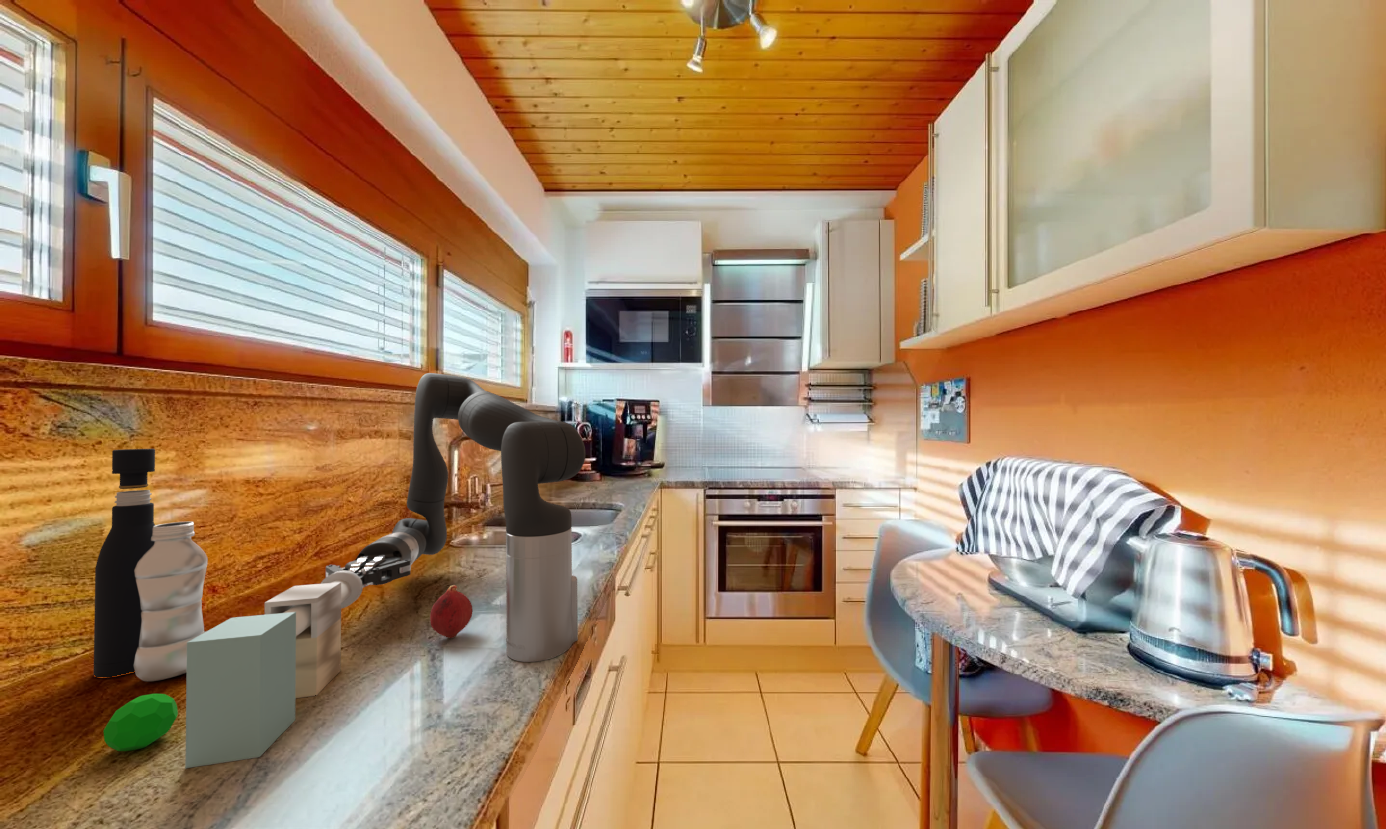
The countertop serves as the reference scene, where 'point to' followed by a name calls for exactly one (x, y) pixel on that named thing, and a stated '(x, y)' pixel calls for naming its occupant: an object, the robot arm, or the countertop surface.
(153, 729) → the polyhedron
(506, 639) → the robot arm
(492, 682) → the countertop surface
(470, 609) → the onion
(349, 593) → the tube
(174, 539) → the plastic bottle
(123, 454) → the wine bottle
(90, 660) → the countertop surface
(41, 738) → the countertop surface
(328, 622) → the sleeve stand
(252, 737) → the socket
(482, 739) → the countertop surface
